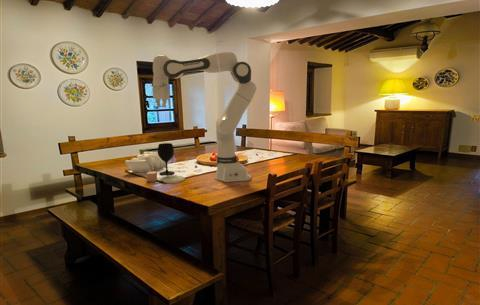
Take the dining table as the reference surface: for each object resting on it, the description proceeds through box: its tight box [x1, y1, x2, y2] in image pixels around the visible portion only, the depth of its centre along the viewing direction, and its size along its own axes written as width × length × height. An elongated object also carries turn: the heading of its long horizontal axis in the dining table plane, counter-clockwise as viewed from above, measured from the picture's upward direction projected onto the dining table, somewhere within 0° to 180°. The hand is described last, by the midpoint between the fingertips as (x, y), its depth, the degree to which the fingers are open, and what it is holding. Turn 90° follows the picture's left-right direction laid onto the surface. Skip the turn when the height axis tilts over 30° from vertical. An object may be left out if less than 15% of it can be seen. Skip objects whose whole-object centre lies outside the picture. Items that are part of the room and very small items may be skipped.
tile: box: [161, 175, 185, 184], centre depth 192 cm, size 14×14×1 cm
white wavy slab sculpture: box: [124, 151, 166, 174], centre depth 222 cm, size 35×16×11 cm, turn 161°
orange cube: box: [146, 171, 158, 182], centre depth 191 cm, size 5×5×5 cm
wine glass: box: [157, 142, 176, 176], centre depth 206 cm, size 10×10×20 cm
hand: (161, 107), depth 187 cm, fingers open, 8 cm apart
